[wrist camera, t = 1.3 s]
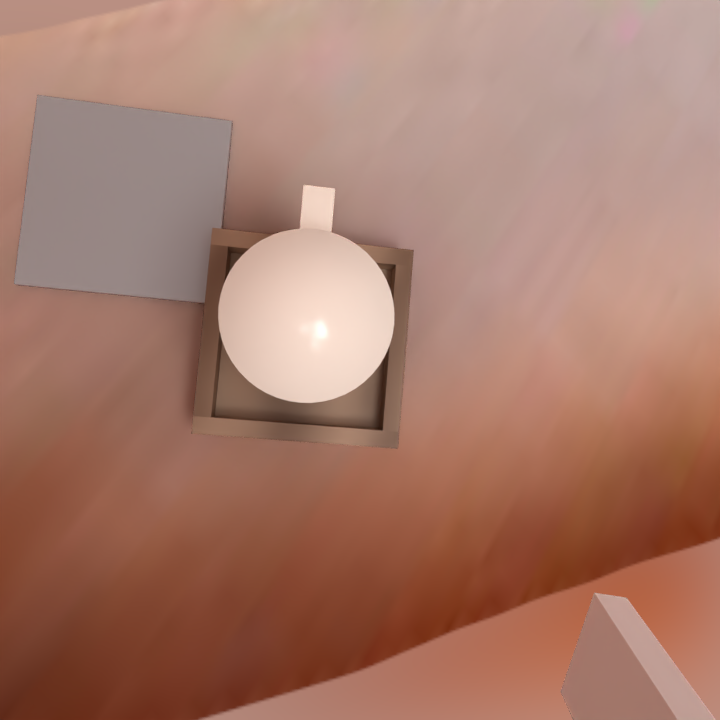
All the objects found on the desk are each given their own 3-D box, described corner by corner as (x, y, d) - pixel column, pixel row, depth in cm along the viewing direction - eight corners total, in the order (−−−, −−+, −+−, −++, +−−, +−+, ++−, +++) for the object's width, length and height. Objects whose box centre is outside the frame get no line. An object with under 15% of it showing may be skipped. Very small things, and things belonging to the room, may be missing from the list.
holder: (402, 263, 37) (413, 250, 33) (388, 443, 36) (398, 448, 33) (220, 243, 36) (212, 227, 32) (202, 429, 35) (191, 433, 31)
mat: (232, 123, 36) (232, 120, 36) (214, 304, 35) (213, 303, 35) (40, 98, 35) (37, 94, 34) (17, 285, 34) (14, 283, 34)
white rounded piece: (369, 251, 35) (405, 179, 23) (357, 402, 34) (387, 409, 22) (257, 239, 34) (233, 157, 22) (242, 393, 33) (209, 395, 21)
